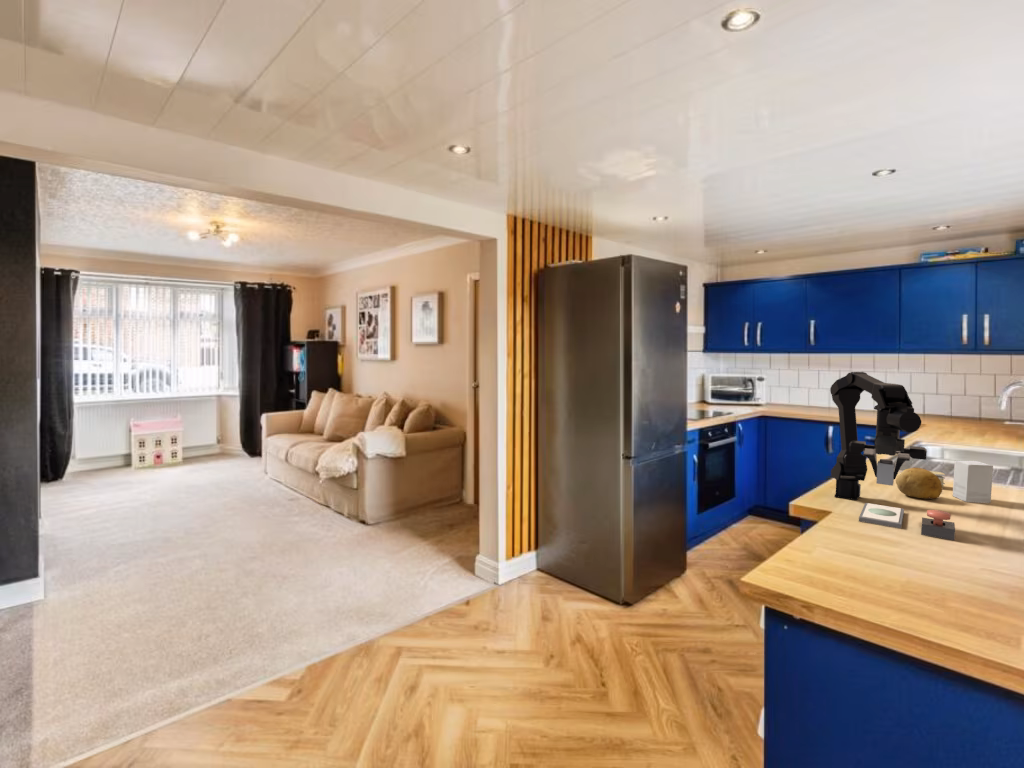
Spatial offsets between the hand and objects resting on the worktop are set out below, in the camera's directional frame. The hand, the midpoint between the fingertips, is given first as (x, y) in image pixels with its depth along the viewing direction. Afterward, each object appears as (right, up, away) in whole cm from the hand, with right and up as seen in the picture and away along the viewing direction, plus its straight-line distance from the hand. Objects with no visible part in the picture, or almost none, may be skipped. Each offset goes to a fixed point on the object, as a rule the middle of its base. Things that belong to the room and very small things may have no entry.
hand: (885, 478), depth 157 cm
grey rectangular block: (0, -2, 0) cm, 2 cm away
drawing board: (0, -12, +1) cm, 12 cm away
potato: (+27, -11, +22) cm, 36 cm away
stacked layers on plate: (+42, -10, +35) cm, 55 cm away
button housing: (+5, -13, -13) cm, 19 cm away
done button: (+5, -11, -14) cm, 18 cm away
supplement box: (+42, -11, +18) cm, 47 cm away
